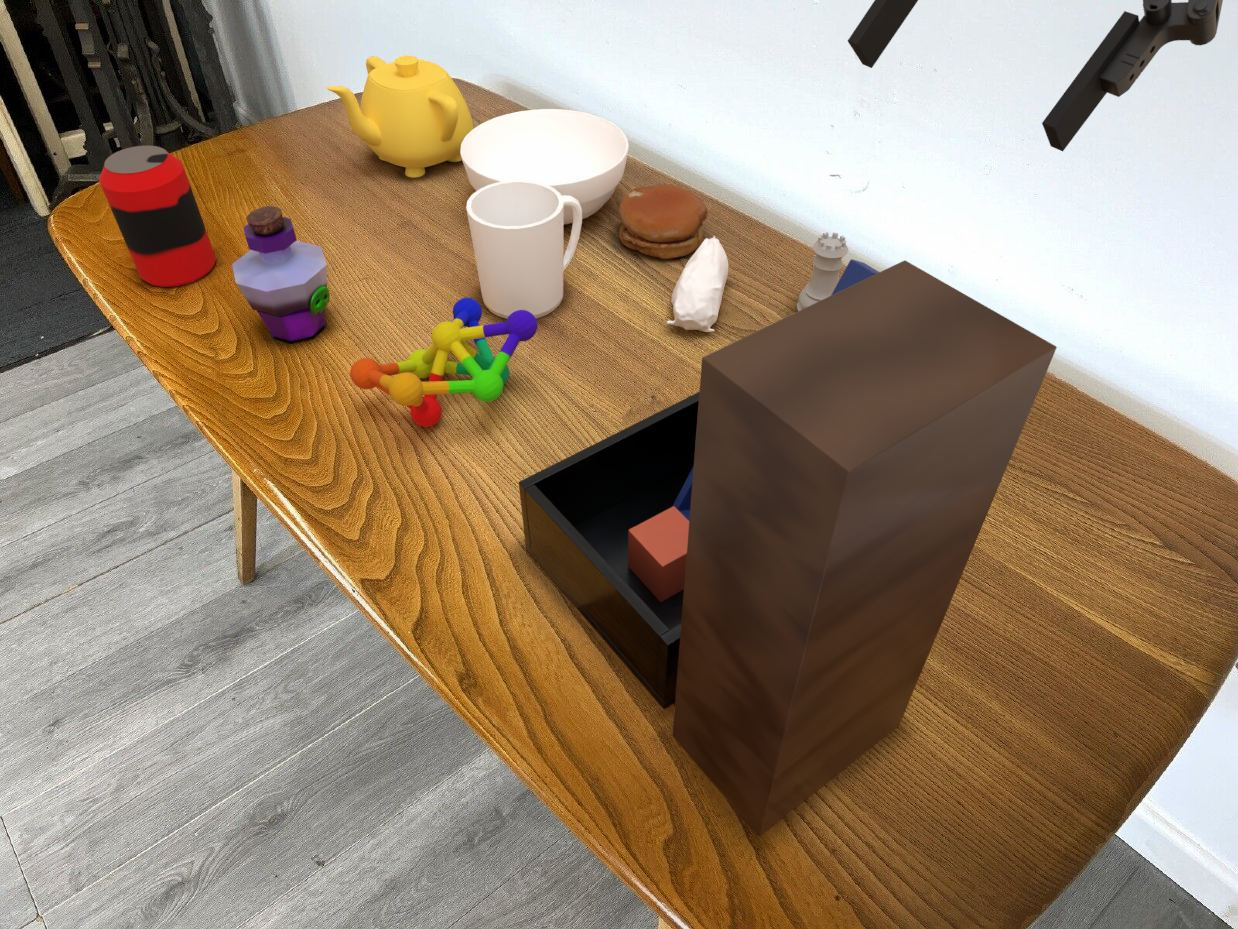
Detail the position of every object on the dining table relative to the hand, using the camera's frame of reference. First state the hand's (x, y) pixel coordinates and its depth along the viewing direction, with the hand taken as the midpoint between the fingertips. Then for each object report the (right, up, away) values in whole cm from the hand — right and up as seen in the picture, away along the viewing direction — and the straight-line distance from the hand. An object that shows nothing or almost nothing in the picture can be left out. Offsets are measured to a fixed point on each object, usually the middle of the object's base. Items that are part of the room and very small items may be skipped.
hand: (948, 93), depth 53 cm
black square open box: (-14, -29, +14) cm, 35 cm away
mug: (-28, -5, +39) cm, 48 cm away
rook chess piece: (+1, -7, +37) cm, 38 cm away
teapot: (-45, +15, +59) cm, 76 cm away
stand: (-8, -38, +5) cm, 39 cm away
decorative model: (-34, -16, +28) cm, 46 cm away
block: (-17, -28, +11) cm, 35 cm away
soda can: (-65, -1, +43) cm, 78 cm away
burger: (-15, +3, +47) cm, 49 cm away
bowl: (-27, +8, +52) cm, 59 cm away
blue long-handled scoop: (-7, -18, +11) cm, 22 cm away
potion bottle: (-50, -8, +36) cm, 62 cm away
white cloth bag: (-11, -6, +37) cm, 39 cm away
